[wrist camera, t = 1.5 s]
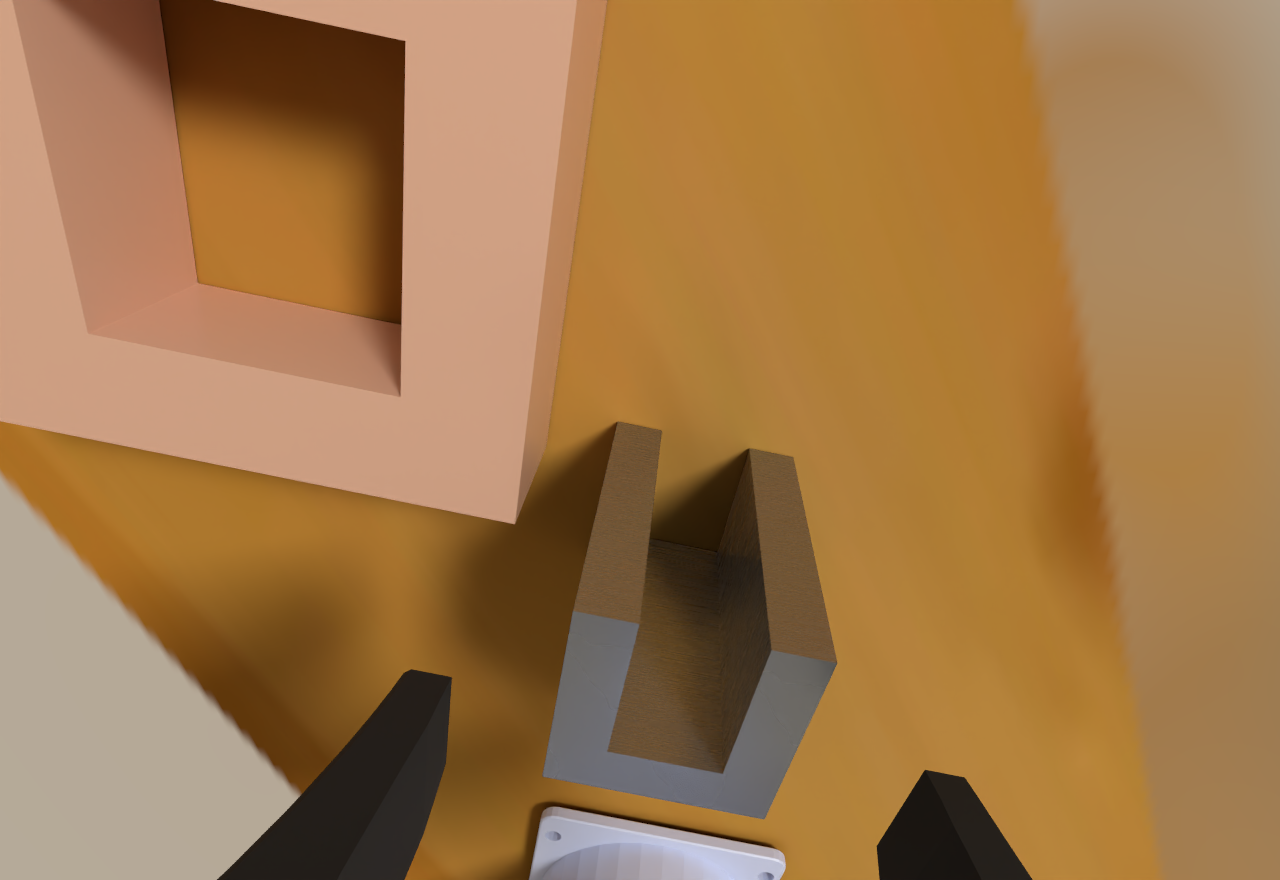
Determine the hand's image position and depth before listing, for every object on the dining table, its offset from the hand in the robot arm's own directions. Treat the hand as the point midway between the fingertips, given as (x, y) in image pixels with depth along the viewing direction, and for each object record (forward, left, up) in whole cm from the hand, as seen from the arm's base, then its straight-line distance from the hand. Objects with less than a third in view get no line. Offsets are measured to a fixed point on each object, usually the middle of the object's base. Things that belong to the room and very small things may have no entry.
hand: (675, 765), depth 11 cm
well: (+6, +8, -7) cm, 12 cm away
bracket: (0, 0, -7) cm, 7 cm away
